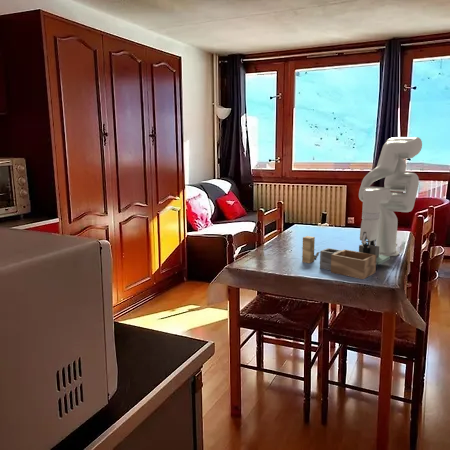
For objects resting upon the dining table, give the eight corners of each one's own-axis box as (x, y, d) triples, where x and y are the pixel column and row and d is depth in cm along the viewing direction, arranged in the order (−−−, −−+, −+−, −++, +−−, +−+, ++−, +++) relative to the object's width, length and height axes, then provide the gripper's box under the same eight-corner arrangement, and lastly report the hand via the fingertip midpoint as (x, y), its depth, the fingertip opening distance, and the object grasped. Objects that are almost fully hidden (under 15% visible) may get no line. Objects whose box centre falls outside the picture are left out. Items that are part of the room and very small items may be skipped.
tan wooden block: (306, 260, 209) (307, 236, 206) (314, 261, 206) (314, 237, 204) (302, 261, 206) (302, 237, 204) (309, 263, 203) (310, 238, 201)
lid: (346, 251, 214) (346, 239, 212) (389, 259, 199) (390, 246, 198) (333, 256, 205) (334, 243, 204) (378, 264, 190) (379, 251, 189)
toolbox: (330, 263, 202) (331, 247, 201) (375, 272, 188) (376, 255, 186) (316, 269, 194) (317, 252, 192) (363, 279, 179) (363, 260, 177)
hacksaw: (316, 261, 209) (316, 258, 208) (294, 259, 212) (294, 256, 212) (321, 249, 231) (321, 246, 231) (302, 247, 234) (302, 245, 234)
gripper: (370, 212, 204) (368, 250, 208) (354, 217, 192) (352, 257, 196) (386, 214, 199) (384, 252, 203) (370, 219, 187) (368, 260, 191)
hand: (368, 254), depth 199 cm, fingers closed on lid, 4 cm apart
